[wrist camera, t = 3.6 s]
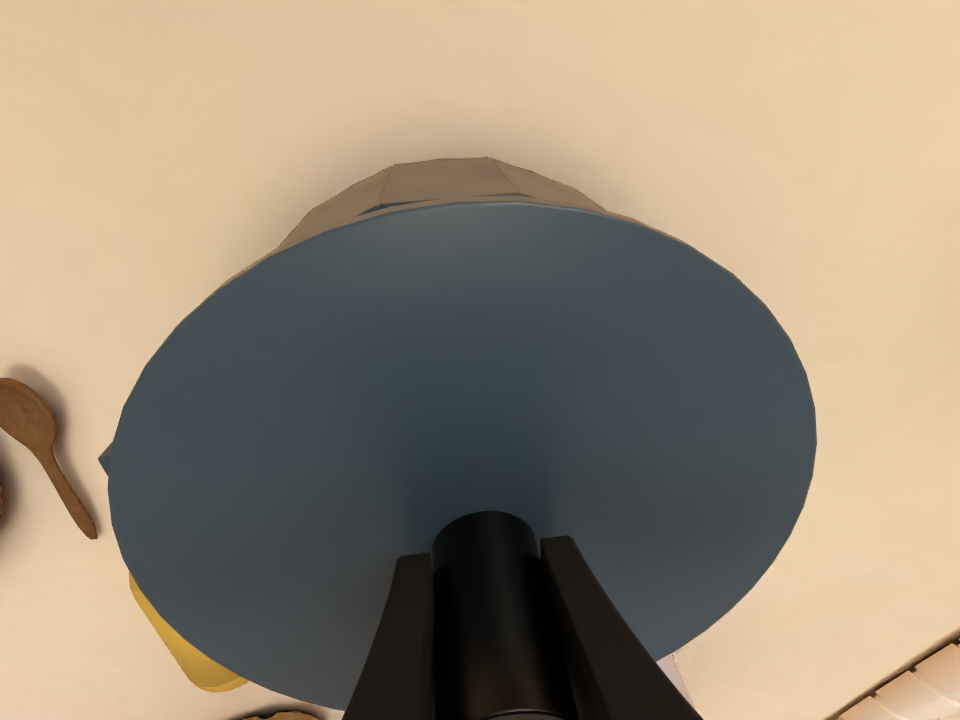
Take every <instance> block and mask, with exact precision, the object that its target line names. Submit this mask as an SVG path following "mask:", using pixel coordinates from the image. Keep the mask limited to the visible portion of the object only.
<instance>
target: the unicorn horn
mask: <svg viewBox="0 0 960 720" xmlns="http://www.w3.org/2000/svg"><path fill="white" fill-rule="evenodd" d="M959 642H960V638H959ZM915 668H916V670H917V671H915V672H914V673H912V672H910V671H906V672H905V673H903V674H902V675H900V676H899V677H897V678H895V679H894V680H892V681H891V682H889V683H888V684H886V685H885V686H883V687H882V688H880V689H879V690H877V691H875V694H876V697H875V698H872V697H871V696H868V697H866V698H865V699H863V700H862V701H860V702H859V703H857V704H856V705H855V706H853V707H852V708H850V709H849V710H847V711H846V712H844V713H843V714H842V715H840V716H839V717H838V720H936V719H939V718H943V717H946V716H950V715H953V714H957V713H960V644H959V645H957V646H956V645H954V644H950V645H948V646H946V647H944V648H943V649H941V650H940V651H938V652H936V653H935V654H933V655H932V656H930V657H929V658H927V659H925V660H924V661H922V662H921V663H919V664H917V665H916V666H915Z"/></svg>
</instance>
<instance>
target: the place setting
mask: <svg viewBox="0 0 960 720" xmlns="http://www.w3.org/2000/svg"><path fill="white" fill-rule="evenodd" d="M0 427H1V428H2V429H3V430H4V431H6V432H7V433H8V434H9V435H11V436H12V437H13V438H15V439H16V440H18V441H19V442H20V443H22V444H23V445H25V446H26V447H27V448H28V449H29V450H30V451H31V452H32V453H33V454H34V455H35V456H36V457H37V459H38V460H39V462H40V463H41V465H42V466H43V468H44V469H45V471H46V473H47V474H48V476H49V478H50V479H51V481H52V483H53V485H54V486H55V488H56V490H57V492H58V494H59V495H60V497H61V499H62V501H63V502H64V504H65V506H66V508H67V509H68V511H69V513H70V515H71V516H72V518H73V519H74V521H75V522H76V524H77V525H78V527H79V528H80V529H81V530H82V532H83V533H84V534H85V535H86V536H87V537H88V538H90V539H97V538H98V535H97V531H96V528H95V525H94V523H93V521H92V519H91V517H90V516H89V514H88V512H87V511H86V509H85V507H84V506H83V504H82V503H81V501H80V499H79V498H78V496H77V495H76V493H75V492H74V490H73V489H72V487H71V486H70V484H69V482H68V481H67V479H66V478H65V476H64V474H63V473H62V471H61V469H60V467H59V465H58V463H57V461H56V459H55V456H54V453H53V446H54V443H55V440H56V438H57V423H56V420H55V417H54V415H53V413H52V412H51V410H50V408H49V407H48V406H47V404H46V403H45V402H44V401H43V400H42V399H41V398H40V397H39V396H38V395H37V394H36V393H35V392H34V391H33V390H31V389H30V388H29V387H27V386H26V385H24V384H23V383H21V382H19V381H17V380H14V379H10V378H0ZM1 511H2V489H1V485H0V517H1Z"/></svg>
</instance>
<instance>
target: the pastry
mask: <svg viewBox="0 0 960 720" xmlns="http://www.w3.org/2000/svg"><path fill="white" fill-rule="evenodd" d="M242 720H318V719H317V718H315V717H314V716H311V715H309V714H308V715H306V714H303V713H301V712H299V711H291V712H277V713H276V714H275V715H274V716H273V717H271V718H268V719H260V718H259V717H258V716H255V717H251V718H246V719H242Z"/></svg>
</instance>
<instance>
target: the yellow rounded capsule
mask: <svg viewBox="0 0 960 720" xmlns="http://www.w3.org/2000/svg"><path fill="white" fill-rule="evenodd" d="M129 581H130V588H131V591H132V593H133V596H134V598H135V600H136V601H137V603H138V604H139V606H140V607H141V609H142V610H143V612H144V613H145V615H146V616H147V618H148V619H149V621H150V622H151V624H152V625H153V627H154V628H155V630H156V631H157V633H158V634H159V636H160V637H161V639H162V640H163V642H164V643H165V645H166V646H167V648H168V649H169V650H170V652H171V653H172V655H173V656H174V658H175V659H176V661H177V662H178V664H179V665H180V667H181V668H182V670H183V671H184V673H185V674H186V676H187V677H188V679H189V680H190V681H191V682H192V683H193V684H194V685H195V686H197V687H199V688H200V689H202V690H205V691H209V692H225V691H229V690H233V689H235V688H238V687H240V686H241V685H243V684H245V683H246V682H248V681H249V680H247V679H245V678H243V677H240V676H239V675H237V674H235V673H233V672H232V671H230V670H228V669H227V668H225V667H223V666H221V665H220V664H218V663H216V662H215V661H213V660H211V659H210V658H208V657H207V656H206V655H204V654H203V653H202V652H200V651H199V650H198V649H196V648H195V647H194V646H192V645H191V644H190V643H188V642H187V641H186V640H184V639H183V638H182V637H181V636H180V635H179V634H178V633H177V632H176V631H175V630H174V629H173V628H172V627H171V626H170V625H169V624H168V623H167V622H166V621H165V620H164V619H163V618H162V617H161V616H160V615H159V614H158V613H157V611H156V610H155V609H154V608H153V606H152V605H151V604H150V602H149V601H148V600H147V598H146V597H145V596H144V595H143V593H142V592H141V591H140V589H139V588H138V586H137V584H136V582H135V580H134V578H133V577H132V575H131V573H130V572H129Z"/></svg>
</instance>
